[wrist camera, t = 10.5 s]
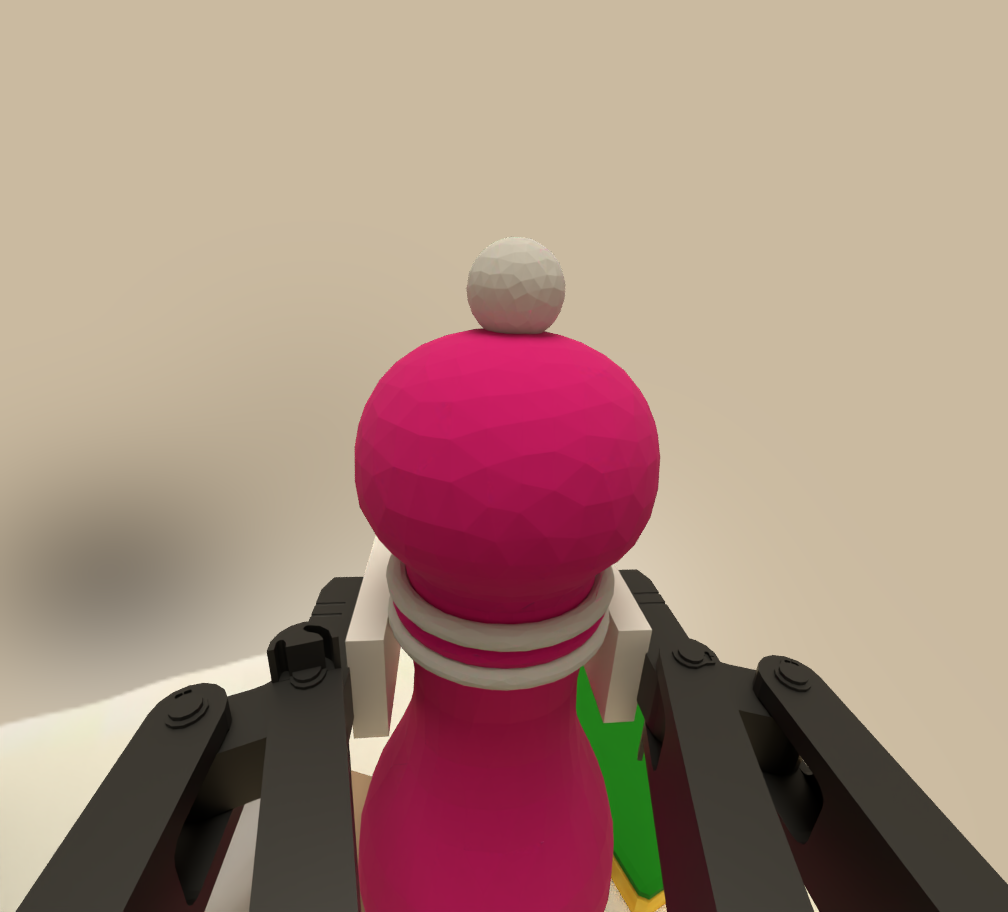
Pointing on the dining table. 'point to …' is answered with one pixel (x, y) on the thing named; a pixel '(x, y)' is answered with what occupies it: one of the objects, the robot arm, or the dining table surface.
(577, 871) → the pepper mill
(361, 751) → the dining table surface
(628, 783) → the dish sponge
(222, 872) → the board
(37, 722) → the dining table surface
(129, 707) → the dining table surface
